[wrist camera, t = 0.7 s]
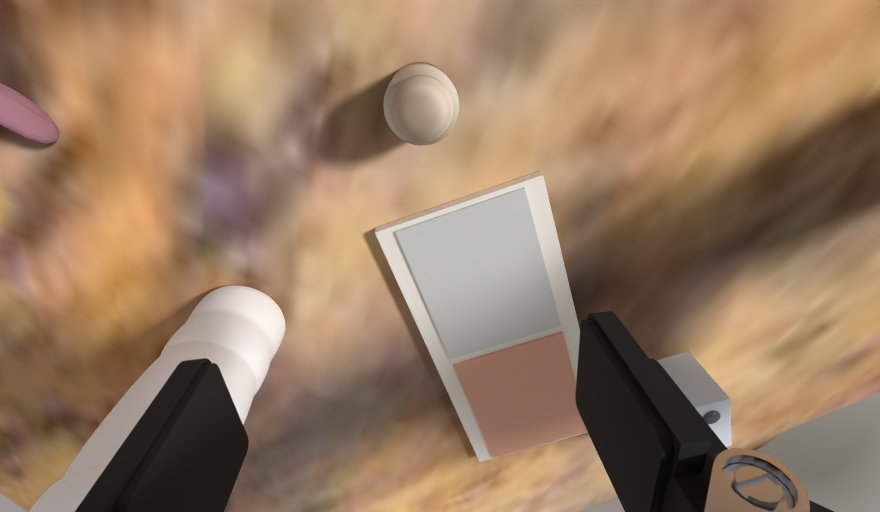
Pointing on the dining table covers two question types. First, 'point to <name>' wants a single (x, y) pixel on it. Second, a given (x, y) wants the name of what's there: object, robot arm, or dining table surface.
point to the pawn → (421, 104)
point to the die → (701, 393)
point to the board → (494, 312)
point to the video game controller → (25, 117)
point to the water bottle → (203, 336)
